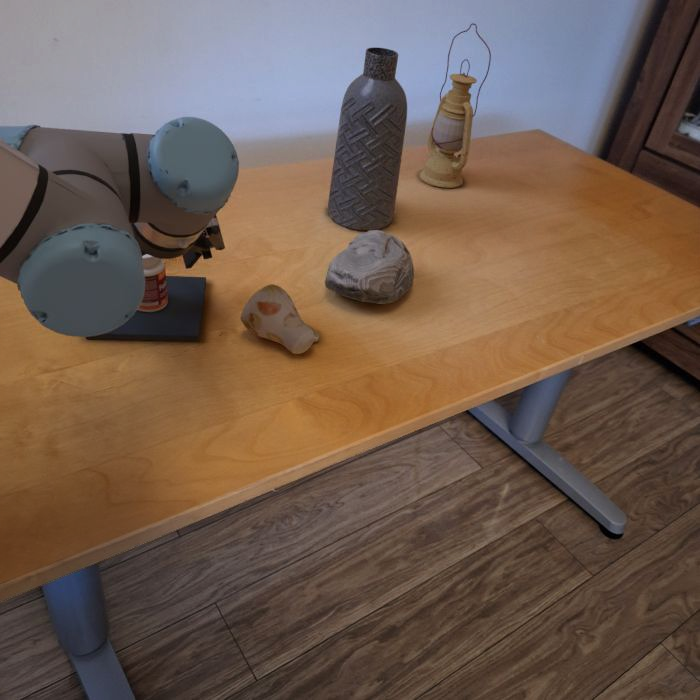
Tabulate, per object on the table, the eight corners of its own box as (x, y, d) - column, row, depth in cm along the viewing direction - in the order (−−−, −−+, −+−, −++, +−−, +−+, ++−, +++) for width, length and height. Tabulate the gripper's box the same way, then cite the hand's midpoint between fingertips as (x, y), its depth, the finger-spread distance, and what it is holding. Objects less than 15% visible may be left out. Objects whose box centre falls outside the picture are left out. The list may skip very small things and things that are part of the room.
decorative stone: (336, 303, 85) (347, 231, 83) (305, 284, 97) (313, 219, 95) (427, 310, 91) (439, 242, 89) (386, 290, 103) (396, 230, 101)
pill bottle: (169, 312, 84) (164, 258, 78) (132, 314, 82) (125, 260, 77) (167, 292, 87) (162, 239, 82) (131, 294, 86) (124, 241, 81)
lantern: (477, 187, 130) (518, 31, 112) (442, 194, 126) (478, 33, 107) (441, 165, 138) (473, 15, 119) (407, 170, 133) (434, 16, 114)
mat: (86, 339, 79) (84, 333, 78) (107, 279, 90) (106, 273, 89) (198, 341, 81) (198, 335, 80) (206, 282, 92) (206, 277, 91)
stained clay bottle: (296, 373, 79) (261, 308, 74) (256, 361, 86) (222, 302, 81) (336, 338, 82) (304, 274, 77) (294, 330, 90) (263, 271, 85)
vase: (314, 215, 112) (328, 47, 94) (350, 195, 120) (370, 37, 103) (370, 239, 108) (396, 68, 90) (404, 216, 116) (434, 55, 98)
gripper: (54, 270, 59) (53, 312, 78) (282, 232, 70) (232, 277, 89) (33, 195, 59) (37, 255, 78) (264, 168, 70) (218, 227, 89)
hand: (141, 267), depth 84 cm, fingers open, 12 cm apart
